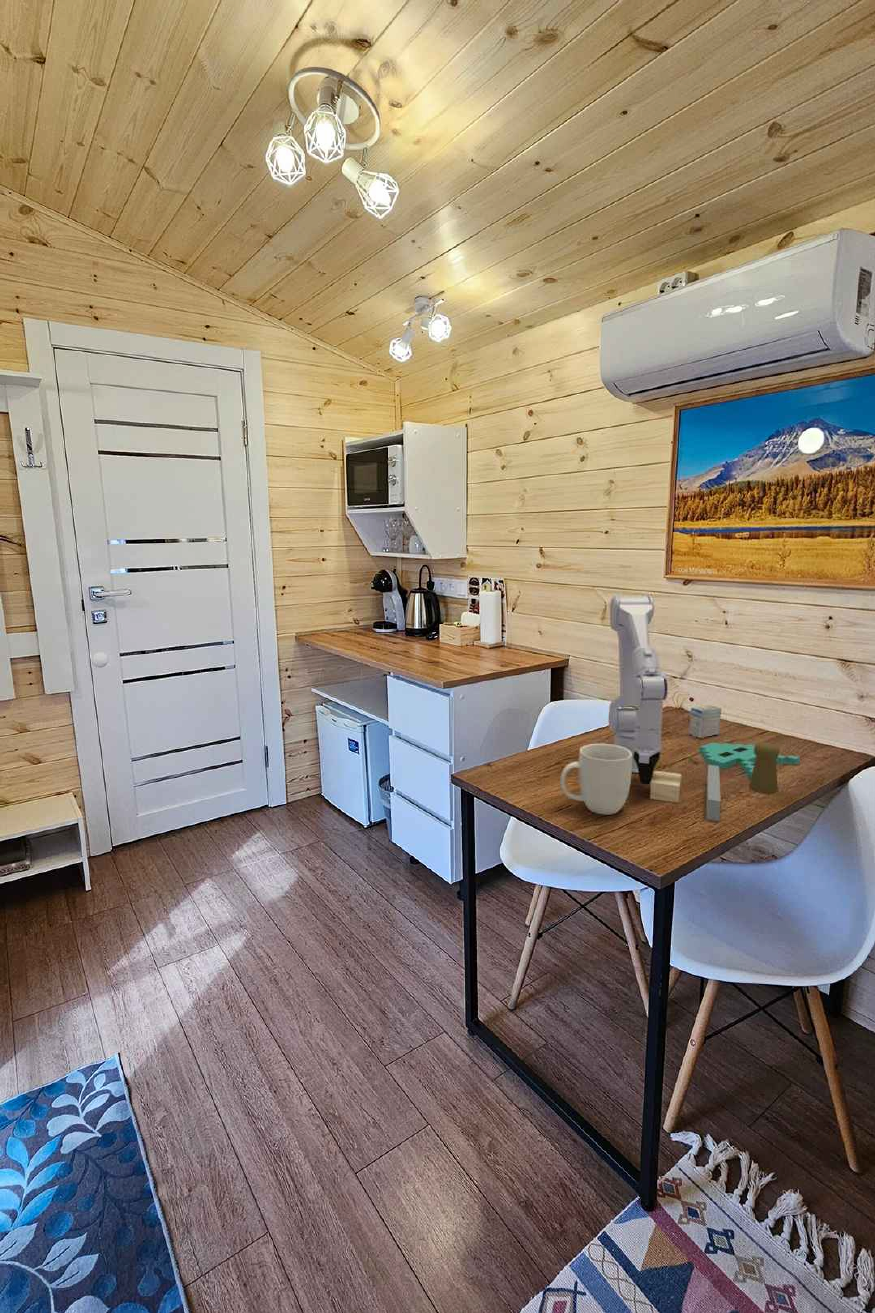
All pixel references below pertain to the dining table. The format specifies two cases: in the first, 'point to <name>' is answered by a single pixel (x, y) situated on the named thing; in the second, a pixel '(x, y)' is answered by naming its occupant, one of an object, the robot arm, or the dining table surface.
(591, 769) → the mug
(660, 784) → the maple block
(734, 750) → the alien figure
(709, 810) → the board
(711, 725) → the medicine box
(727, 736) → the dining table surface
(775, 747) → the cork
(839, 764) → the dining table surface
